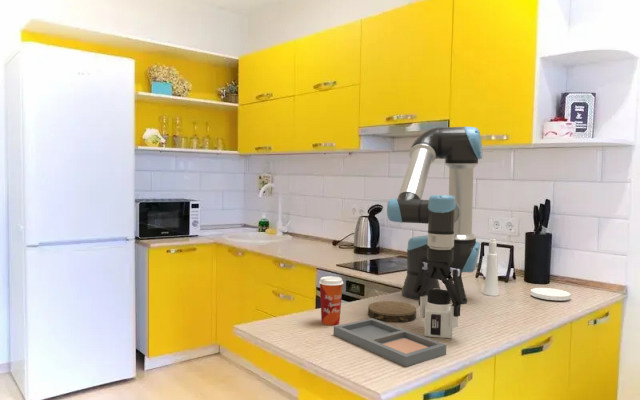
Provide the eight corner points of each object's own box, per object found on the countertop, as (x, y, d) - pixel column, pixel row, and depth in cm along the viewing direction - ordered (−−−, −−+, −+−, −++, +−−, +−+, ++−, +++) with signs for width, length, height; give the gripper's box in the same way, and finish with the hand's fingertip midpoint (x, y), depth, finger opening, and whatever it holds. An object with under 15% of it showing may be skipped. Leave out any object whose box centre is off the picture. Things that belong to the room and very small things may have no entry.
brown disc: (362, 320, 157) (362, 310, 157) (374, 307, 172) (374, 299, 171) (412, 326, 151) (412, 316, 151) (419, 312, 166) (420, 304, 166)
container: (452, 338, 139) (453, 294, 138) (424, 336, 140) (425, 292, 140) (450, 330, 146) (451, 287, 146) (424, 328, 148) (425, 286, 147)
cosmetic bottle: (501, 296, 190) (503, 240, 189) (485, 295, 190) (487, 240, 189) (496, 292, 196) (498, 238, 195) (481, 292, 196) (482, 238, 195)
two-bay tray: (333, 334, 141) (333, 326, 141) (371, 325, 150) (372, 317, 149) (406, 367, 118) (406, 356, 118) (446, 354, 127) (446, 344, 127)
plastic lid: (578, 303, 182) (578, 296, 182) (542, 303, 181) (542, 296, 181) (557, 293, 196) (557, 287, 196) (523, 294, 195) (524, 287, 195)
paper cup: (325, 327, 147) (326, 282, 146) (314, 320, 154) (314, 277, 153) (347, 324, 151) (348, 279, 150) (335, 317, 158) (336, 275, 157)
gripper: (402, 243, 149) (400, 314, 150) (465, 254, 131) (462, 335, 132) (419, 242, 154) (417, 310, 155) (482, 252, 135) (479, 330, 136)
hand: (438, 322), depth 143 cm, fingers closed on container, 10 cm apart
